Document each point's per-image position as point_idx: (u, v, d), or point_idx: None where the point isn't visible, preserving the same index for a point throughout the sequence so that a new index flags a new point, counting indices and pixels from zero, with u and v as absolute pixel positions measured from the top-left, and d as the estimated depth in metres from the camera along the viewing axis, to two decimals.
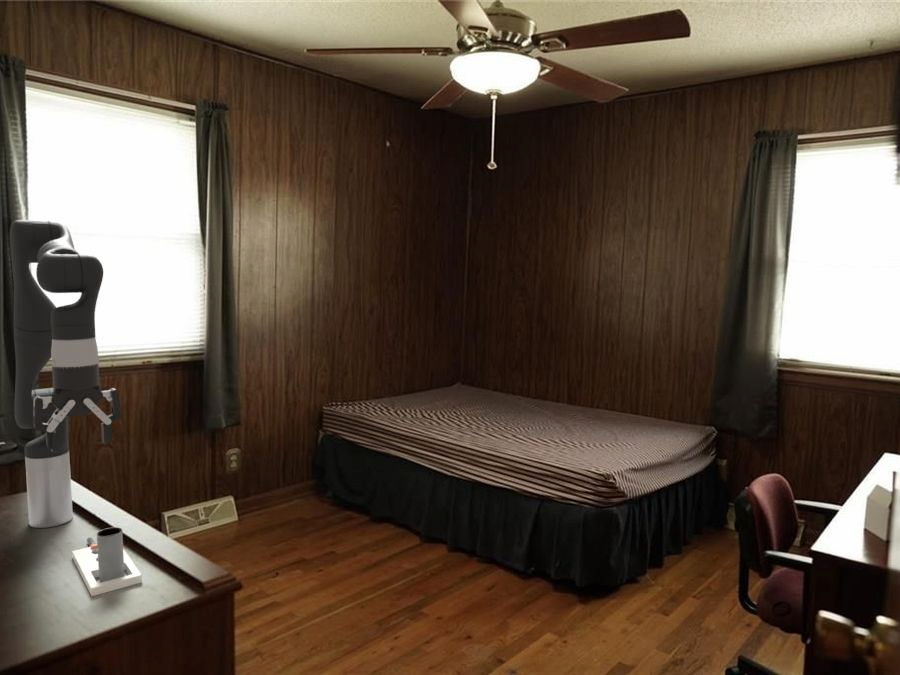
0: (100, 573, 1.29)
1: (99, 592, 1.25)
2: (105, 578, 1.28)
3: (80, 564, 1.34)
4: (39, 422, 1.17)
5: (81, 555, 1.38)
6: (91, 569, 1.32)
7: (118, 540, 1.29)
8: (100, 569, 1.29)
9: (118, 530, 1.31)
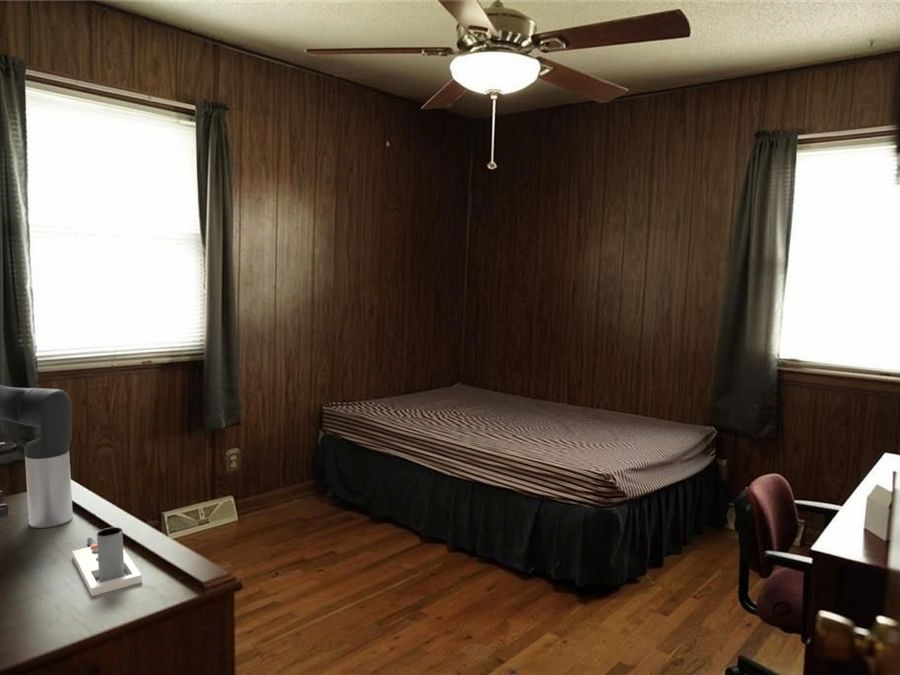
0: (100, 573, 1.29)
1: (99, 592, 1.25)
2: (105, 578, 1.28)
3: (80, 564, 1.34)
4: None
5: (81, 555, 1.38)
6: (91, 569, 1.32)
7: (118, 540, 1.29)
8: (100, 569, 1.29)
9: (118, 530, 1.31)
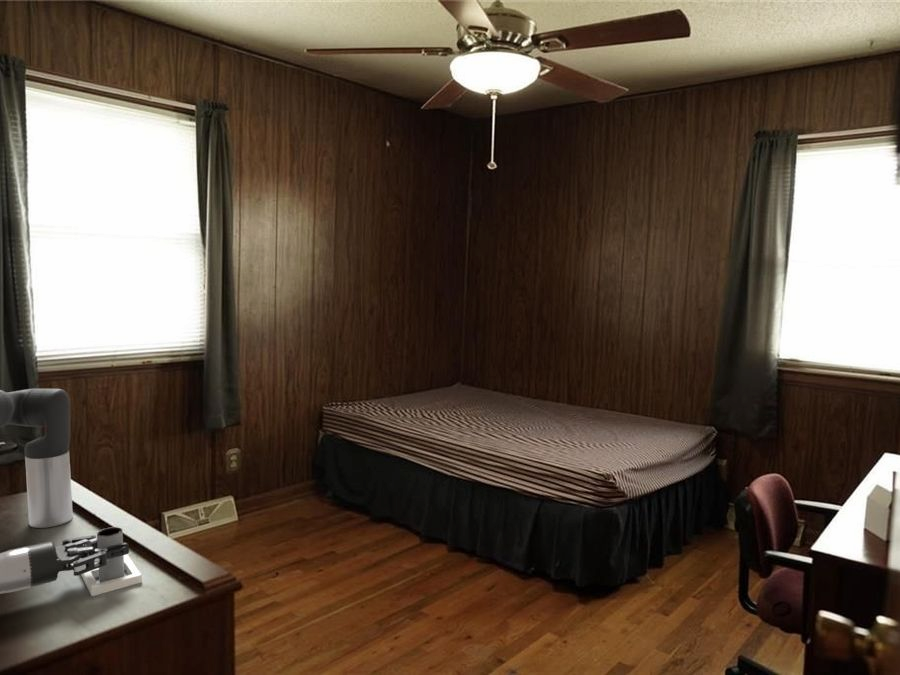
0: (100, 573, 1.29)
1: (99, 592, 1.25)
2: (105, 578, 1.28)
3: None
4: None
5: None
6: None
7: (118, 540, 1.29)
8: (100, 569, 1.29)
9: (118, 530, 1.31)
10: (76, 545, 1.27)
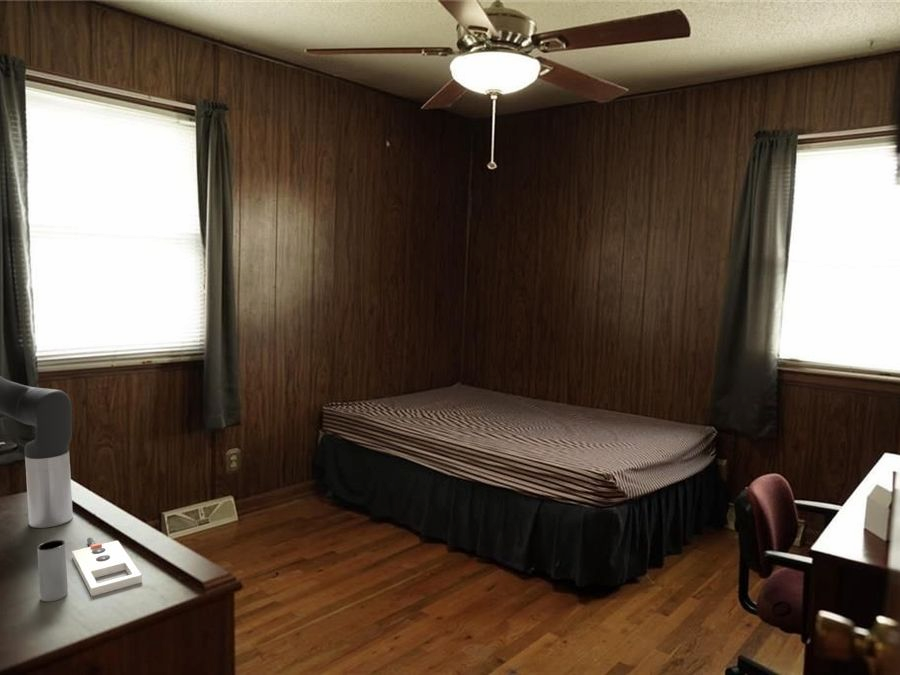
0: (41, 588, 1.22)
1: (99, 592, 1.25)
2: (46, 594, 1.22)
3: (80, 564, 1.34)
4: None
5: (81, 555, 1.38)
6: (91, 569, 1.32)
7: (60, 554, 1.23)
8: (41, 584, 1.22)
9: (61, 543, 1.25)
10: None
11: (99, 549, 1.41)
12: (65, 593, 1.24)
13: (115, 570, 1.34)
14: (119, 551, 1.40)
